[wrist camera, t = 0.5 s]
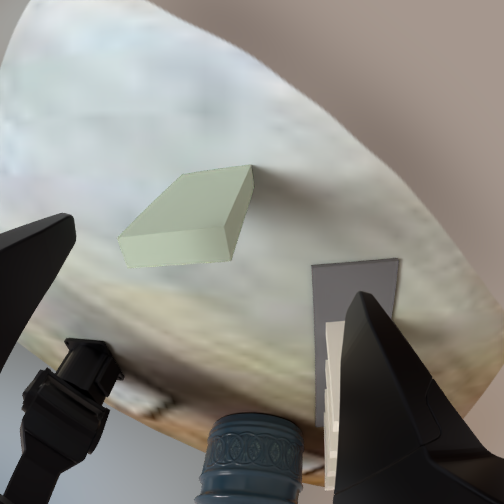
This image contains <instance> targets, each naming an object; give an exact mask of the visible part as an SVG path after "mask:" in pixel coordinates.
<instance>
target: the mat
mask: <svg viewBox="0 0 504 504" xmlns="http://www.w3.org/2000/svg"><path fill="white" fill-rule="evenodd" d="M398 263H399V260H398V258H393V259H382V260H370V261H358V262H346V263H334V264H321V265H311V266H312V284H313V305H314V331H315V375H316V427H324V412H325V389H327V387H326V372H325V364H326V360H328V354H327V343H326V322H337V321H345V316H346V312H347V310H348V308H349V306H350V304H351V302H352V300H353V298H354V297H355V295H356V293H357V292H358V291H364V292H368V293H371V294H372V295H373V296H374V297H375V298H376V300H377V301H378V302H379V304H380V305H381V306H382V308H383V309H384V310H385V311H386V313H387V314H388V315H389V317H390V318H392V311H393V304H394V297H395V290H396V282H397V273H398Z"/></svg>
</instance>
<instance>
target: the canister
mask: <svg viewBox="0 0 504 504" xmlns="http://www.w3.org/2000/svg"><path fill="white" fill-rule="evenodd" d="M303 452H304V439H303V436H302V432H301V430H300V429H299V427H297V426H296V425H295V424H293V423H292V422H290V421H288V420H285V419H282V418H279V417H276V416H271V415H265V414H255V413H243V414H234V415H229V416H226V417H223V418H221V419H219V420H217V421H216V422H215V423H214V425H213V427H212V429H211V431H210V432H209V437H208V447H207V451H206V456H205V461H204V465H203V470H202V474H201V475H200V477H199V480H200V482H201V484H202V486H201V493H200V495H198V496H197V497H195V499H194V501H195V503H196V504H298V496H299V493H300V492H301V491H302V490H303V485H302V461H303Z"/></svg>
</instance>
